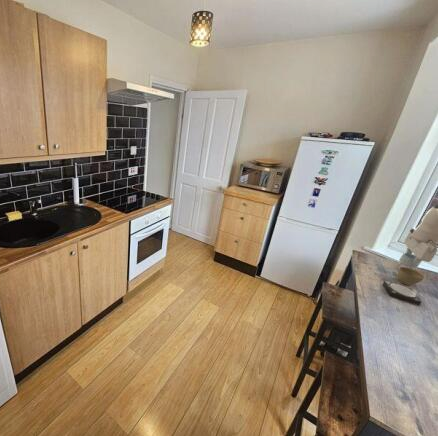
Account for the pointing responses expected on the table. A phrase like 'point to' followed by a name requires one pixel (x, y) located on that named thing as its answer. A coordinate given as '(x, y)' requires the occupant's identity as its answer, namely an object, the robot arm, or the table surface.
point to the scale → (402, 293)
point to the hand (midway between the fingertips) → (410, 259)
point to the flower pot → (409, 276)
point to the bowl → (408, 260)
